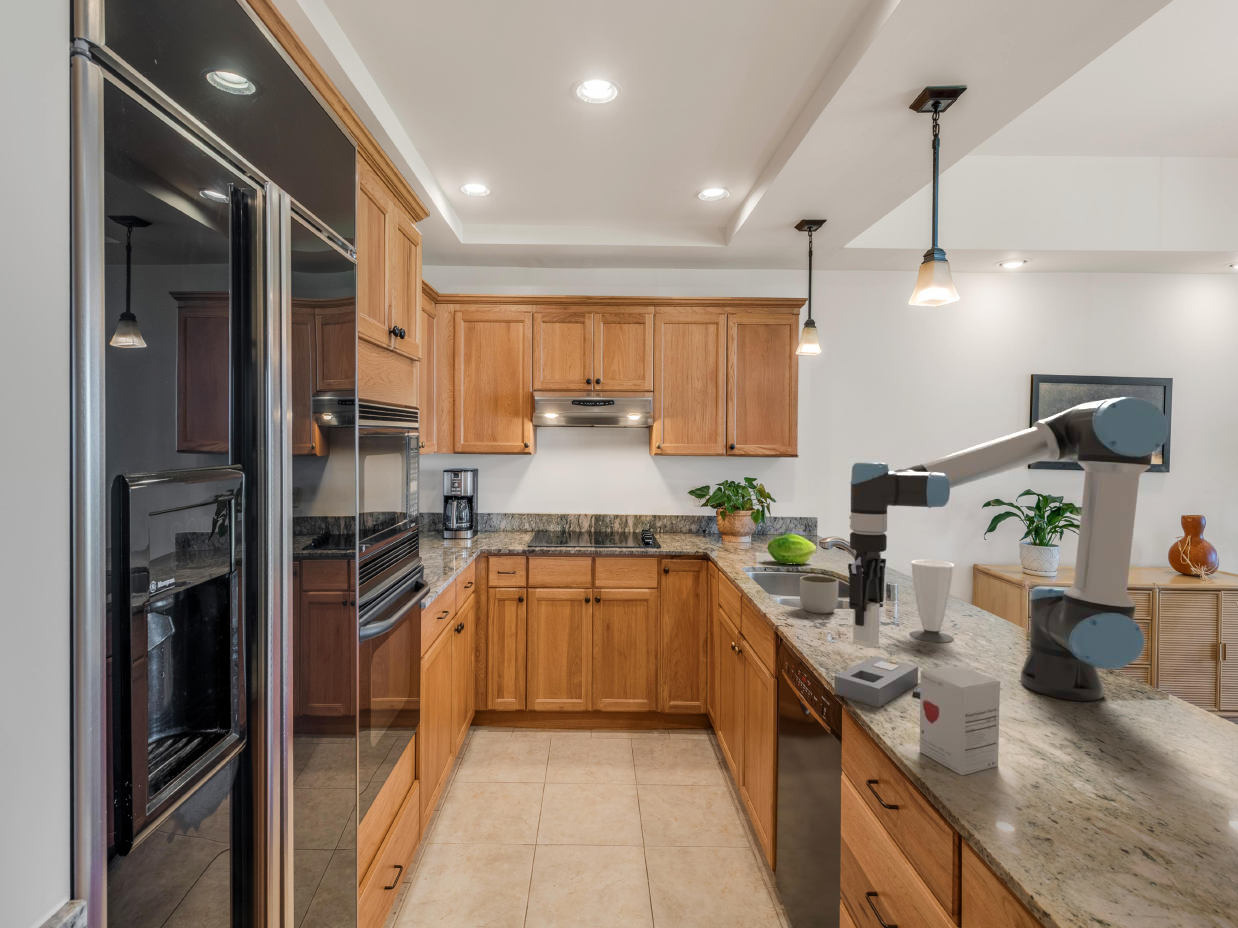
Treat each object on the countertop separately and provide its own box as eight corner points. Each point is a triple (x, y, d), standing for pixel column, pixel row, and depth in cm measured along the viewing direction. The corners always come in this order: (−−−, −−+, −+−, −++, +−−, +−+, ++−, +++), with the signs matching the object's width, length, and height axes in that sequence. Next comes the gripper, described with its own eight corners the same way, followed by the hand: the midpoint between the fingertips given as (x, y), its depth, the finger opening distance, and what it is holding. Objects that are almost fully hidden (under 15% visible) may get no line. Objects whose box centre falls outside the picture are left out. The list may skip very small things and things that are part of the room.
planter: (812, 604, 215) (813, 573, 215) (845, 611, 205) (845, 579, 205) (792, 610, 207) (792, 578, 207) (824, 618, 197) (825, 584, 197)
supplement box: (917, 751, 109) (918, 668, 109) (954, 743, 112) (955, 662, 112) (961, 776, 101) (962, 686, 100) (1000, 767, 104) (1001, 679, 104)
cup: (960, 643, 171) (961, 567, 170) (916, 641, 173) (917, 565, 172) (945, 631, 182) (946, 559, 182) (904, 630, 184) (905, 558, 183)
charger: (878, 644, 135) (879, 603, 135) (870, 647, 132) (871, 606, 132) (861, 639, 138) (862, 599, 138) (852, 643, 135) (853, 602, 135)
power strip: (917, 683, 141) (918, 665, 141) (878, 707, 128) (879, 687, 128) (875, 671, 149) (875, 654, 149) (834, 693, 135) (834, 674, 135)
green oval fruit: (812, 559, 301) (818, 569, 285) (765, 558, 303) (769, 568, 288) (812, 530, 298) (819, 539, 283) (765, 529, 301) (769, 538, 285)
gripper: (869, 527, 143) (867, 626, 143) (832, 533, 131) (830, 641, 132) (902, 530, 137) (899, 633, 138) (866, 537, 126) (864, 649, 126)
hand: (866, 637), depth 135 cm, fingers closed on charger, 4 cm apart
